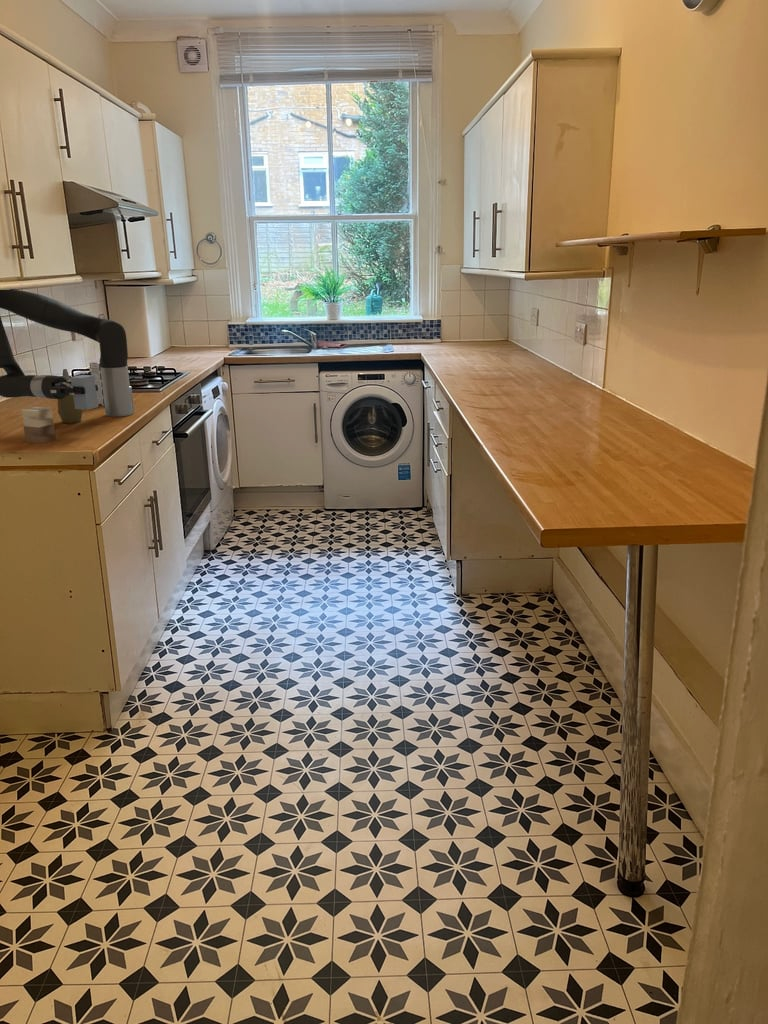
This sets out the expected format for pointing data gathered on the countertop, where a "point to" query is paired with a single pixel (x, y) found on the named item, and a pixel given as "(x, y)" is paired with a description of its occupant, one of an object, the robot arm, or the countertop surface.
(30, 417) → the tower top
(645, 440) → the countertop surface
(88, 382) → the pillar
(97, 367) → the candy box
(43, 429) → the tower base
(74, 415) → the squeeze bottle
